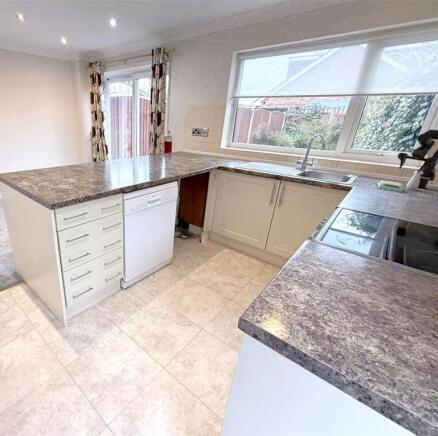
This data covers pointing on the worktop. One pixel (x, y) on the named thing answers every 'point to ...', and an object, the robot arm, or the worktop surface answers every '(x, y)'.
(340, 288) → the worktop surface
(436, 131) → the robot arm
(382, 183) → the scale platform
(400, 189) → the scale
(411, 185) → the salt shaker
